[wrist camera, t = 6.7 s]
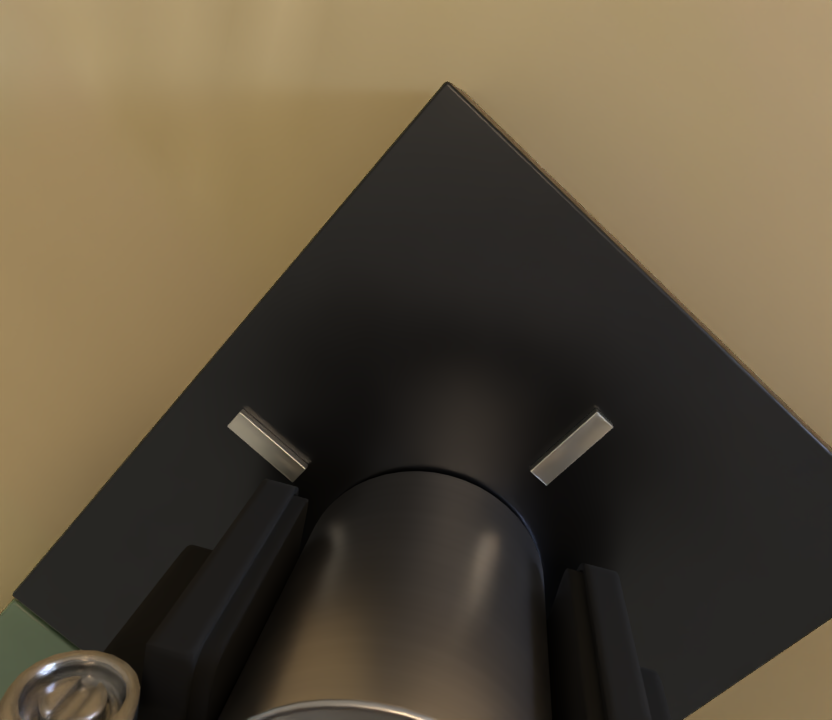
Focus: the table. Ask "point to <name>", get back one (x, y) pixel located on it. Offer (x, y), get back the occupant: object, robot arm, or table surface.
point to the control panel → (486, 415)
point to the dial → (405, 613)
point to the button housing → (25, 642)
